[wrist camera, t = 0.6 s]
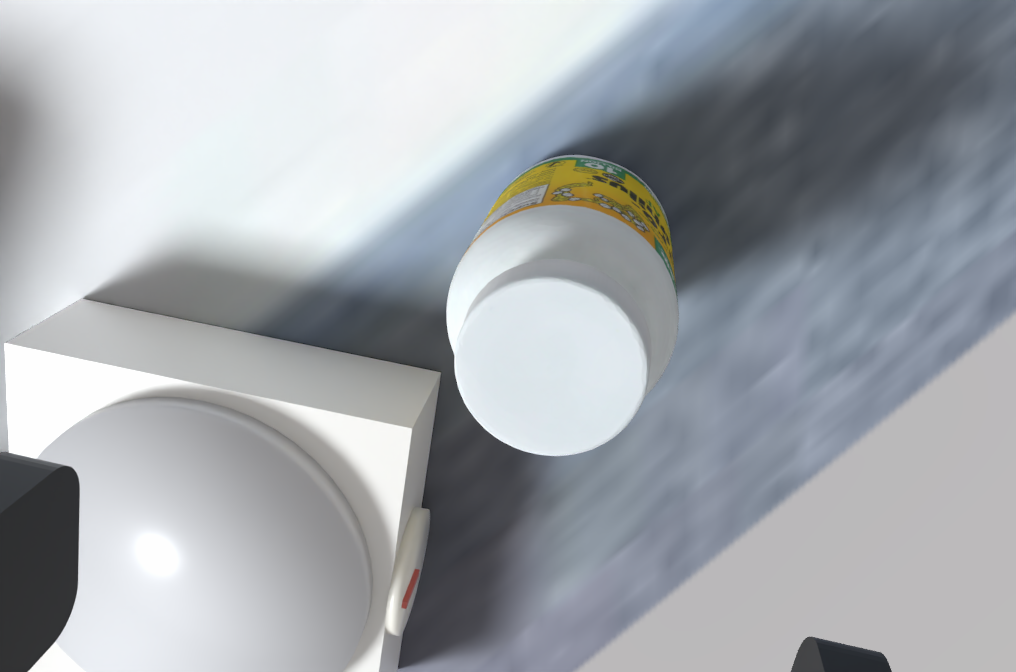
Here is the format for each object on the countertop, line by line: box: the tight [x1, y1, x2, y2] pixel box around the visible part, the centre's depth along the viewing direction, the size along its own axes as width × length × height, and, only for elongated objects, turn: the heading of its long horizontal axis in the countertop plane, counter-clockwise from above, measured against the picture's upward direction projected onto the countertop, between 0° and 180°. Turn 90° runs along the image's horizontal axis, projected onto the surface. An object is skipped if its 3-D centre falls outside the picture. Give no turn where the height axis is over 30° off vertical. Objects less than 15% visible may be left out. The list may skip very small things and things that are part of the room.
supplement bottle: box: [446, 155, 679, 456], centre depth 24 cm, size 5×5×10 cm
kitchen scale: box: [4, 299, 441, 672], centre depth 31 cm, size 12×12×5 cm
